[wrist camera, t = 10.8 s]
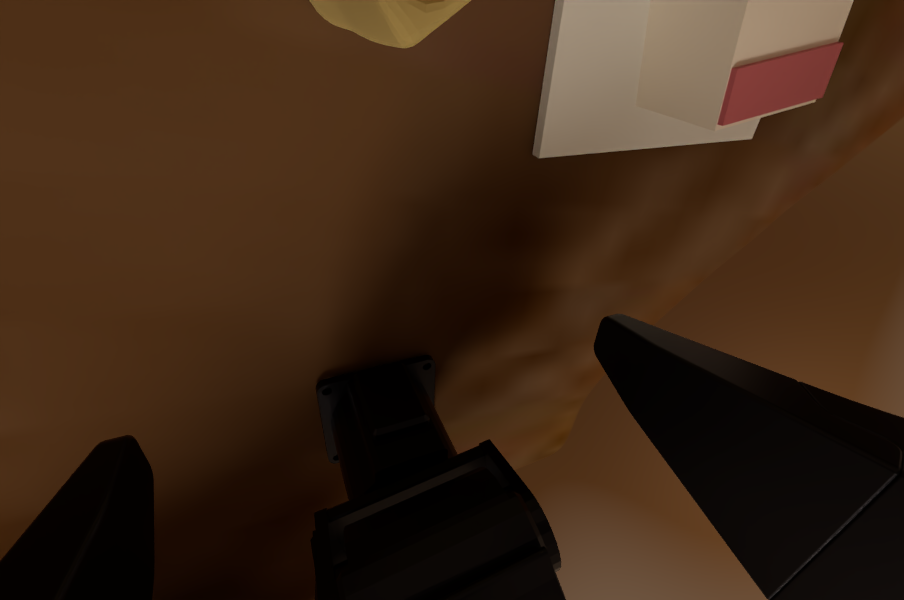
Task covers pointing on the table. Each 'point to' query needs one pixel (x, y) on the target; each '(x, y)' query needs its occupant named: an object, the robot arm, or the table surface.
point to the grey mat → (606, 86)
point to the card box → (738, 57)
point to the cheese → (389, 18)
